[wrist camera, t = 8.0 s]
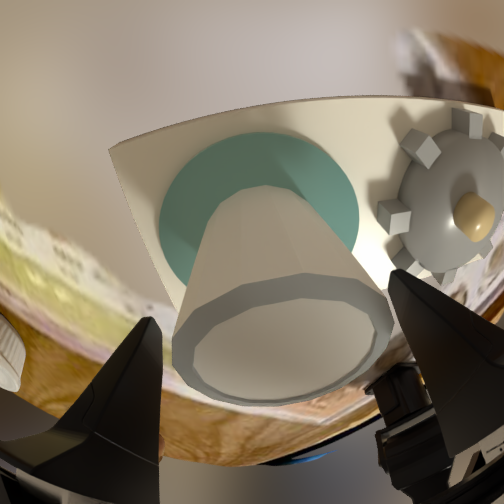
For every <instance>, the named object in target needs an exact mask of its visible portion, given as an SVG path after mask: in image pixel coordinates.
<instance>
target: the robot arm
mask: <svg viewBox="0 0 504 504" xmlns="http://www.w3.org/2000/svg"><path fill="white" fill-rule="evenodd" d="M388 293H389V295H390V298H391V301H392V304H393V306H394V309H395V312H396V315H397V318H398V321H399V323H400V326H401V328H402V331H403V333H404V335H405V337H406V339H407V341H408V344H409V346H410V348H411V351H412V353H413V355H414V358H415V360H416V362H417V364H397V365H395V366H394V367H393V368H392V369H391V370H390V371H388V372H387V373H386V374H385V375H384V376H383V377H381V378H380V379H379V380H378V381H377V382H375V383H374V384H373V385H372V386H370V387H369V388H368V389H367V390H365V395H374V396H375V398H376V401H377V404H378V407H379V410H380V413H381V415H382V416H383V418H384V421H385V425H386V428H384V429H382V430H378V431H376V434H375V438H376V442H377V448H378V464H379V466H380V467H382V468H383V469H384V471H385V473H386V474H387V475H389V474H390V477H391V482H392V485H393V486H394V487H395V488H396V489H397V490H401V491H402V492H403V493H405V494H406V495H407V496H409V497H410V498H411V499H412V501H413V504H504V330H503V329H501V328H500V327H498V326H496V325H494V324H492V323H491V322H489V321H487V320H486V319H484V318H482V317H481V316H479V315H478V314H476V313H474V312H473V311H471V310H469V309H468V308H467V307H465V306H463V305H462V304H460V303H459V302H457V301H455V300H454V299H452V298H451V297H449V296H447V295H446V294H444V293H442V292H441V291H439V290H437V289H436V288H434V287H432V286H431V285H429V284H427V283H426V282H424V281H422V280H421V279H419V278H417V277H415V276H414V275H412V274H410V273H408V272H407V271H405V270H403V269H401V268H399V269H395V270H392V271H391V272H390V276H389V282H388ZM420 373H421V374H422V377H423V380H424V382H425V385H426V387H427V390H428V393H429V395H430V398H431V400H432V403H431V401H430V399H429V397H428V394H427V392H426V389H425V387H424V385H423V383H422V380H421V378H420V376H419V374H420ZM162 376H163V352H162V331H161V329H160V328H159V326H158V324H157V323H156V321H155V319H154V318H153V317H151V316H150V317H143V318H141V319H140V321H139V322H138V323H137V324H136V325H135V327H134V328H133V329H132V330H131V332H130V333H129V334H128V335H127V337H126V338H125V339H124V340H123V341H122V343H121V344H120V345H119V346H118V348H117V349H116V350H115V352H114V353H113V354H112V355H111V357H110V358H109V359H108V360H107V362H106V363H105V364H104V366H103V367H102V368H101V369H100V371H99V372H98V373H97V375H96V376H95V377H94V378H93V380H92V382H90V384H89V385H88V386H87V388H86V389H85V390H84V391H83V393H82V394H81V395H80V397H79V398H78V399H77V400H76V401H75V402H74V404H73V405H72V406H71V407H70V408H69V409H68V410H67V412H66V413H65V414H64V415H63V416H62V417H61V418H60V420H59V421H58V422H57V423H56V424H55V425H54V426H53V427H52V428H51V429H49V430H47V431H45V432H42V433H39V434H35V435H32V436H28V437H23V438H19V439H15V440H11V441H0V458H1V459H3V460H4V461H6V462H8V463H9V464H11V465H13V466H14V467H16V468H17V472H16V474H14V473H12V472H10V471H8V470H6V469H5V468H3V467H1V466H0V504H160V500H159V466H158V465H159V426H160V405H161V389H162ZM434 413H435V414H434ZM429 416H430V417H429ZM427 417H428V418H427ZM420 421H421V422H420ZM418 422H419V423H418ZM392 435H393V436H392ZM390 436H391V437H390ZM478 442H479V445H480V448H481V449H480V450H478V451H477V452H476V453H474V454H473V456H472V458H471V461H470V464H469V466H468V468H467V470H466V473H465V475H464V477H463V479H462V481H461V482H459V483H457V484H456V485H454V486H452V487H451V486H450V482H449V480H450V476H451V473H452V470H453V466H454V462H455V458H456V455H457V454H459V453H461V452H463V451H464V450H466V449H468V448H470V447H471V446H473V445H475V444H476V443H478Z"/></svg>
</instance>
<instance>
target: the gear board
mask: <svg viewBox="0 0 504 504" xmlns="http://www.w3.org/2000/svg"><path fill="white" fill-rule="evenodd" d="M109 153H110V156H111V159H112V162H113V164H114V168H115V170H116V173H117V176H118V179H119V182H120V184H121V187H122V190H123V192H124V195H125V198H126V200H127V203H128V205H129V208H130V210H131V213H132V215H133V217H134V220H135V223H136V225H137V227H138V230H139V232H140V235H141V237H142V239H143V241H144V244H145V246H146V248H147V250H148V253H149V255H150V257H151V259H152V261H153V264H154V266H155V268H156V270H157V272H158V274H159V276H160V278H161V280H162V283H163V285H164V287H165V289H166V291H167V293H168V295H169V297H170V299H171V301H172V303H173V305H174V306H175V308H176V310H177V312H178V314H179V312H180V308H181V305H182V301H183V298H184V295H185V291H186V288H187V285H188V281H189V278H190V275H191V272H192V269H193V265H194V262H195V259H196V256H197V253H198V250H199V247H200V244H201V241H202V238H203V235H204V232H205V229H206V226H207V223H208V221H209V219H210V218H211V216H212V215H213V213H214V212H215V210H216V209H217V207H218V206H219V204H220V203H221V202H223V201H224V200H226V199H227V198H229V197H230V196H232V195H233V194H235V193H237V192H238V191H240V190H242V189H247V188H252V187H257V186H263V185H269V186H274V187H279V188H285V189H290V190H291V191H293V192H294V193H296V194H297V195H298V196H300V197H301V198H303V199H304V200H306V201H307V202H308V203H309V204H310V205H311V206H312V207H313V208H314V209H315V211H316V212H317V213H318V214H319V215H320V216H321V217H322V219H323V220H324V221H325V222H326V223H327V224H328V225H329V227H330V228H331V229H332V230H333V231H334V233H335V234H336V235H337V236H338V237H339V239H340V240H341V241H342V242H343V243H344V245H345V246H346V247H347V248H348V249H349V251H350V252H351V253H352V254H353V256H354V257H355V258H356V259H357V261H358V262H359V263H360V264H361V266H362V267H363V268H364V269H365V271H366V272H367V273H368V275H369V276H370V277H371V278H372V280H373V281H374V282H375V284H376V285H377V286H378V288H379V289H380V290H382V289H386V288H388V282H389V276H390V272H391V271H392V270H395V269H399V268H401V269H403V270H405V271H407V272H408V273H410V274H412V275H414V276H415V277H417V278H419V279H421V278H424V277H428V276H431V275H433V276H434V278H435V279H436V280H437V282H438V283H439V284H440V285H441V286H443V285H446V284H449V283H452V282H453V281H454V278H455V275H456V272H457V269H458V268H459V267H461V266H463V265H465V264H468V263H471V262H474V261H477V260H480V259H482V258H483V259H484V258H485V257H486V256H487V255H488V253H489V252H490V251H491V250H492V248H493V246H492V243H491V241H490V240H491V237H492V235H493V234H494V232H495V230H496V228H497V226H498V224H499V222H500V219H501V217H502V214H503V211H504V110H501V109H498V108H495V107H491V106H486V105H480V104H475V103H469V102H462V101H455V100H447V99H438V98H427V97H413V96H387V95H366V96H364V95H362V96H337V97H322V98H310V99H301V100H292V101H284V102H276V103H270V104H263V105H257V106H252V107H246V108H240V109H235V110H230V111H226V112H221V113H217V114H212V115H208V116H204V117H200V118H196V119H192V120H188V121H184V122H181V123H178V124H174V125H170V126H167V127H163V128H160V129H157V130H154V131H151V132H148V133H145V134H142V135H139V136H136V137H133V138H130V139H127V140H125V141H122V142H119V143H118V144H116V145H115V146H113V147H112V148H110V149H109Z"/></svg>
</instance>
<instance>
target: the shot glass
mask: <svg viewBox="0 0 504 504" xmlns="http://www.w3.org/2000/svg"><path fill="white" fill-rule="evenodd" d="M393 326H394V320H393V316H392V313H391V311H390V307H389V304H388V301H387V299H386V297H385V296H384V294H383V293H382V292H381V290H380V289H379V288H378V286H377V285H376V284H375V282H374V281H373V280H372V278H371V277H370V276H369V275H368V273H367V272H366V271H365V269H364V268H363V267H362V266H361V264H360V263H359V262H358V261H357V259H356V258H355V257H354V256H353V254H352V253H351V252H350V251H349V249H348V248H347V247H346V246H345V245H344V243H343V242H342V241H341V240H340V239H339V237H338V236H337V235H336V234H335V233H334V231H333V230H332V229H331V228H330V227H329V225H328V224H327V223H326V222H325V221H324V220H323V219H322V217H321V216H320V215H319V214H318V213H317V212H316V211H315V209H314V208H313V207H312V206H311V205H310V204H309V203H308V202H307V201H306V200H304V199H303V198H301V197H300V196H298V195H297V194H296V193H294V192H293V191H291V190H290V189H285V188H279V187H274V186H269V185H263V186H257V187H252V188H247V189H242V190H240V191H238V192H237V193H235V194H233V195H232V196H230V197H229V198H227V199H226V200H224V201H223V202H221V203H220V204H219V206H218V207H217V209H216V210H215V212H214V213H213V215H212V216H211V218H210V219H209V221H208V223H207V226H206V229H205V232H204V235H203V238H202V241H201V244H200V247H199V250H198V253H197V256H196V259H195V262H194V265H193V269H192V272H191V275H190V278H189V281H188V285H187V288H186V291H185V295H184V298H183V301H182V305H181V308H180V312H179V315H178V319H177V322H176V326H175V329H174V333H173V337H172V366H173V367H174V368H175V370H176V371H177V372H178V373H179V375H180V376H181V377H182V379H183V380H184V381H185V383H186V384H187V385H188V386H190V387H191V388H193V389H195V390H197V391H199V392H200V393H202V394H204V395H206V396H208V397H210V398H212V399H214V400H218V401H222V402H227V403H231V404H236V405H241V406H282V405H288V404H293V403H299V402H304V401H309V400H312V399H315V398H317V397H320V396H322V395H325V394H327V393H330V392H332V391H335V390H337V389H340V388H342V387H343V386H345V385H346V384H348V383H349V382H351V381H352V380H354V379H355V378H357V377H358V376H360V375H361V374H363V373H364V372H366V371H367V370H368V369H369V368H370V367H371V366H372V365H373V363H374V362H375V361H376V360H377V359H378V358H379V356H380V355H381V354H382V353H383V352H384V350H385V349H386V348H387V345H388V342H389V339H390V335H391V333H392V330H393Z"/></svg>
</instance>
